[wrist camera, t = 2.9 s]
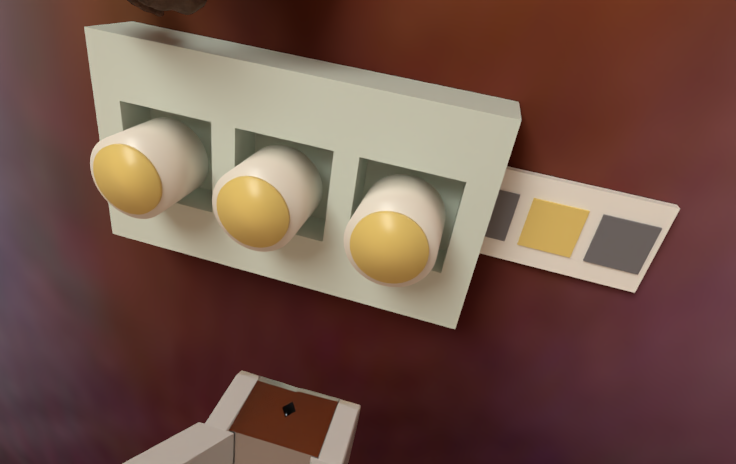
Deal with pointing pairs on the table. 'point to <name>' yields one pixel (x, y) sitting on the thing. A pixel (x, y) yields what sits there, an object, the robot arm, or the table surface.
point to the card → (576, 228)
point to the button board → (308, 153)
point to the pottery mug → (169, 6)
